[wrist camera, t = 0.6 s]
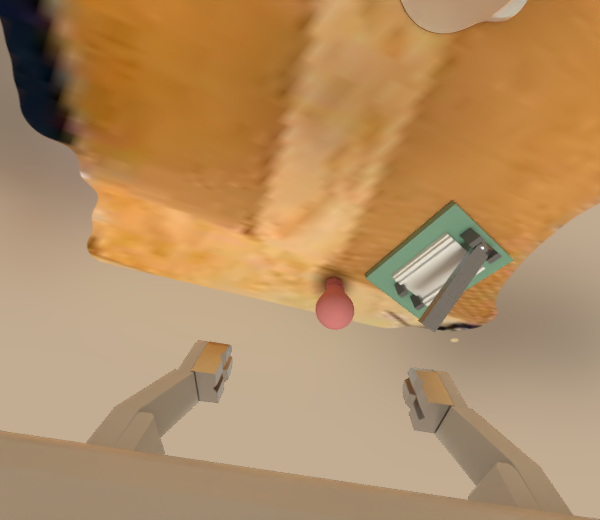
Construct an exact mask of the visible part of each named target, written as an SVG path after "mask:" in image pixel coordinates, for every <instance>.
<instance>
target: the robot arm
mask: <svg viewBox="0 0 600 520" xmlns="http://www.w3.org/2000/svg"><path fill="white" fill-rule="evenodd" d="M401 2H402V4H403V6H404V8H405V10H406V12H407V13H408V15H409V16H410V18H411V19H412V20H413V21H414V22H415V23H416V24H417V25H419V26H420V27H422V28H423V29H425V30H428V31H431V32H435V33H452V32H457V31H460V30H463V29H466V28H468V27H470V26H472V25H475V24H477V23H480V22H484V21H489V22H502V21H507V20H509V19H511V18H512V17H513V16H515V15H516V14H517V13H518V12H519V11H520V10H521V9H522V7H523V6H524V5H525V3H526V2H527V0H401ZM231 351H232V348H231V345H228V344H221V343H215V342H207V341H201V340H198V341H197V342H196V343H195V344H194V346H193V347H192V349H191V350H190V352H189V353H188V355H187V357H186V358H185V360H184V361H183V363H182V364H181V366H180V367H179V369H178V370H176V369H175V370H173V371H171V372H170V373H168V374H166V375H165V376H163V377H162V378H160V379H159V380H157V381H155V382H154V383H152V384H150V385H149V386H147V387H146V388H144V389H142V390H141V391H139V392H138V393H136V394H135V395H133V396H131V397H130V398H128V399H127V400H125V401H123V402H122V403H120V404H119V405H117V406H115V407H114V409H113V410H112V411H111V412H110V414H109V415H108V416H107V417H106V419H105V420H104V421H103V422H102V424H101V425H100V426H99V427H98V429H97V430H96V431H95V432H94V434H93V435H92V436H91V437H90V439H89V440H88V441H87V443H80V442H73V441H66V440H59V439H53V438H46V437H39V436H33V435H26V434H19V433H12V432H6V431H0V520H600V519H595V518H587V517H581V516H574V515H573V514H572V513H571V511H570V510H569V508H568V507H567V505H566V504H565V502H564V501H563V499H562V498H561V497H560V495H559V494H558V492H557V491H556V489H555V488H554V486H553V485H552V483H551V482H550V480H549V479H548V477H547V476H546V475H545V473H544V472H543V470H542V469H541V467H539V466H538V465H537V464H536V463H535V462H534V461H533V460H531V459H530V458H529V457H528V456H527V455H526V454H524V453H523V452H522V451H521V450H520V449H519V448H517V447H516V446H515V445H514V444H513V443H512V442H510V441H509V440H508V439H507V438H506V437H505V436H503V435H502V434H501V433H500V432H499V431H498V430H496V429H495V428H494V427H493V426H492V425H490V424H489V423H488V422H487V421H486V420H485V419H483V418H482V417H481V416H480V415H478V413H476V412H475V411H474V410H473V409H469V408H468V406H467V405H466V403H465V401H464V399H463V398H462V396H461V394H460V392H459V391H458V389H457V387H456V385H455V384H454V382H453V380H452V379H451V377H450V375H449V374H448V373H447V372H443V371H434V370H427V369H418V368H411V369H409V371H408V376H409V378H408V379H406V380H405V381H404V384H403V397H404V400H405V403H406V404H407V405H408V406H409V408H410V412H409V416H410V419H411V422H412V425H413V428H414V430H418V431H424V432H430V433H435V435H436V437H437V438H438V439H439V440H440V441H441V443H442V444H443V445H444V446H445V448H446V449H447V450H448V451H449V453H450V454H451V455H452V456H453V458H454V459H455V460H456V461H457V462H458V464H459V465H460V466H461V467H462V469H463V470H464V471H465V472H466V474H467V475H468V476H469V477H470V479H471V480H472V481H473V482H474V484H475V485H476V487H475V488H474V490H473V491H472V492H471V493H470V494H469V496H468V500H465V499H458V498H451V497H445V496H438V495H432V494H425V493H418V492H411V491H404V490H397V489H391V488H384V487H378V486H371V485H364V484H357V483H351V482H344V481H337V480H331V479H324V478H317V477H310V476H303V475H297V474H290V473H283V472H276V471H269V470H262V469H256V468H249V467H242V466H236V465H228V464H221V463H215V462H209V461H202V460H195V459H187V458H181V457H174V456H168V455H164V454H165V452H164V449H163V445H162V442H161V439H160V437H162V436H163V434H165V433H166V432H167V431H168V430H169V429H170V428H171V427H172V426H173V425H174V424H176V423H177V422H178V421H179V420H180V419H181V418H182V417H183V416H184V415H185V414H186V413H187V412H188V411H190V410H191V409H192V408H193V407H194V406H195V405H196V404H197V403H198V402H199V401H204V402H214V403H218V402H219V400H220V398H221V395H222V393H223V390H224V382H225V381H226V380H228V378H229V375H230V372H231V368H232V357H231V356H230V353H231Z"/></svg>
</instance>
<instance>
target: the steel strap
mask: <svg viewBox="0 0 600 520" xmlns="http://www.w3.org/2000/svg"><path fill="white" fill-rule="evenodd" d="M492 253H493V250H492V249H491V248H490V247H489V246H488V245H487V244H486V243H485V242H484V241H482V242H481V243H479V244H478V245H476V246H475V247H474V248H472V247H470V248H469V250H468V251H467V253H466V254H465V255H464V257H463V258H462V260H461V261H460V263H459V264H458V265H457V267H456V268H455V270H454V271H453V272H452V274H451V275H450V277H449V278H448V279H447V281H446V282H445V284H444V285H443V286H442V288H441V289H440V291H439V292H438V294H437V295H436V296H435V298H434V299H433V301H432V302H431V303H430V305H429V306H428V308H427V309H426V310H425V312H424V313H423V315H422V316H421V318H420V319H419V320H418V321H419V322H421V323H422V324H423V325H425V326H426V327H427V328H428V329H430V330H431V331H433V332H435V331H436V330H437V329H438V327H439V326H440V324H441V323H442V322H443V320H444V319H445V317H446V316H447V315H448V313H449V312H450V310H451V309H452V307H453V306H454V305H455V303H456V302H457V300H458V299H459V298H460V296H461V295H462V293H463V292H464V290H465V289H466V288H467V286H468V285H469V283H470V282H471V281H472V279H473V278H474V276H475V275H476V274H477V272H478V271H479V269H480V268H481V266H482V265H483V264H484V262H485V261H486V259H487V258H488V257H489V255H491V254H492Z"/></svg>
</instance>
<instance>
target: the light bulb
mask: <svg viewBox="0 0 600 520" xmlns="http://www.w3.org/2000/svg"><path fill="white" fill-rule="evenodd" d="M325 290H326V291H325V293H324V294H323V295H322V296H321V297H320V298H319V300H318V301H317V304H316V315H317V318H318V320H319V321H320V323H322V325H324V326H325V327H327V328H329V329H333V330H338V329H342V328H344V327H346V326H347V325H348V324H349V323H350V322H351V321H352V318H353V316H354V306H353V303H352V301H351V299H350V298H349V297H348V296H347V295H346V294H345V291H344V287H343V282H342V281H341V280H340V279H338V278H330V279H328V280H327V282H326V285H325Z"/></svg>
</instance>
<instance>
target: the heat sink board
mask: <svg viewBox="0 0 600 520" xmlns="http://www.w3.org/2000/svg"><path fill="white" fill-rule="evenodd" d="M482 241H484V242H485V243H486V244H487V245H488V246H489V247H490V248H491V249H492V250H493V253H492V254H491V255H489V257H488V258H487V259H486V261H485V262H484V264H483V265H482V266H481V268H480V269H479V271H478V272H477V274H476V275H475V276H474V278H473V279H472V281H471V282H470V283H469V285H468V286H467V288H466V289H465V290H467V289H468V288H470V287H471V286H473V285H475V284H476V283H478V282H479V281H481V280H483V279H484V278H486V277H487V276H489V275H491V274H492V273H494V272H495V271H497V270H499V269H500V268H502V267H503V266H505V265H507V264H508V263H510V262H511V261H513V259H512V258H511V257H510V256H509V255H508V254H507V253H506V252H505V251H504V250H503V249H502V248H501V247H500V246H499V245H498V244H497V243H496V242H495V241H494V240H493V239H492V238H491V237H490V236H488V235H487V234H486V233H485V232H484V231H483V230H482V229H481V228H480V227H479V226H478V225H477V224H476V223H475V222H474V221H473V220H472V219H471V218H470V217H469V216H468V215H467V214H466V213H465V212H464V211H463V210H462V209H461V208H460V207H459V206H457V205H456V204H455V203H454V202H452V201H451V202H450V203H449V204H448V205H446V206H445V207H444V208H443V209H442V210H441V211H439V212H438V213H437V214H436V215H435V216H433V217H432V218H431V219H430V220H429V221H427V222H426V223H425V224H424V225H423V226H422V227H420V228H419V229H418V230H417V231H416V232H414V233H413V234H412V235H411V236H410V237H409V238H407V239H406V240H405V241H404V242H403V243H401V244H400V245H399V246H398V247H397V248H395V249H394V250H393V251H392V252H391V253H390V254H388V255H387V256H386V257H385V258H384V259H382V260H381V261H380V262H379V263H378V264H377V265H375V266H374V267H373V268H372V269H371V270H369V271H368V272H367V273H366V274H365V276H366V279H367V280H369V281H370V282H371V283H373V284H374V285H375V286H377V287H378V288H379V289H381V290H382V291H383V292H384V293H386V294H387V295H388V296H390V297H391V298H392V299H394V300H395V301H396V302H398V303H399V304H400V305H402V306H403V307H404V308H405V309H407V310H408V311H409V312H411V313H412V314H413V315H415V316H416V317H417V318H419V319H420V318H421V316H422V315H423V313H424V312H425V310H426V309H427V308H428V306H429V305H430V303H431V302H432V301H433V299H434V298H435V296H436V295H437V294H438V292H439V291H440V289H441V288H442V286H443V285H444V284H445V282H446V281H447V279H448V278H449V277H450V275H451V274H452V272H453V271H454V270H455V268H456V267H457V265H458V264H459V263H460V261H461V260H462V258H463V257H464V255H465V254H466V253H467V251H468V250H469V248H470V247H472V248H474V247H475V246H476V245H478V244H479V243H481V242H482ZM465 290H464V291H465Z"/></svg>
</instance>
